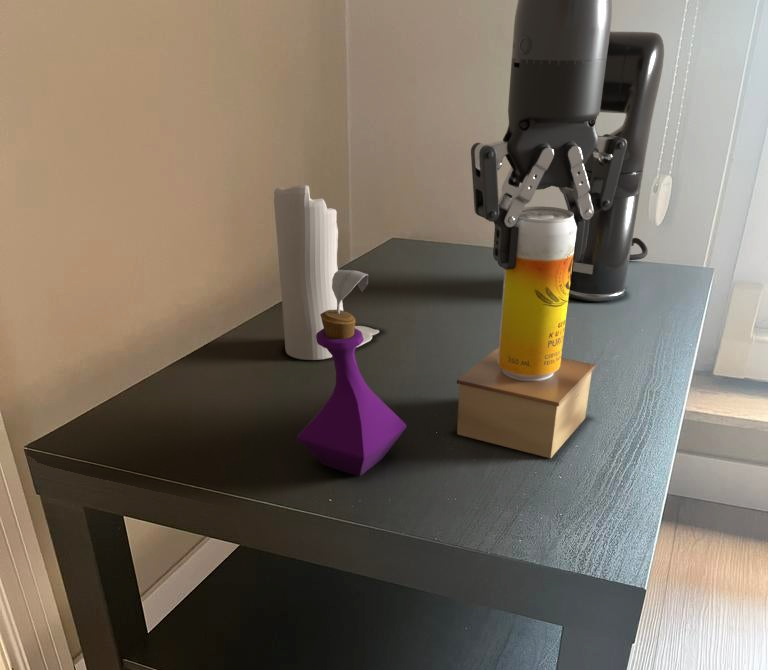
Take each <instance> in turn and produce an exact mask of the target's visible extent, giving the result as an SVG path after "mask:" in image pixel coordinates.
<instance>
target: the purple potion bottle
mask: <svg viewBox="0 0 768 670" xmlns="http://www.w3.org/2000/svg"><path fill="white" fill-rule="evenodd" d="M368 284H369V274H368V273H366V272H365V273H364V272H362V271H358V270H352V269H351V270H349V269H338V271H337V272H336V273H335V274H334V276H333V279H332V289H333V292H334V295H335V297H336V300H337V310H327V311H325V312H323V313H322V314H320V315H321V319H322V323H323V327H324V328H323V329H322V330H320V331H319V332H318V333H317V335H316V339H317V343H318V344H319V345H320V346H322V347H324V348H327V350H328V351H329V352H330V353H331V355H332V357H331V358H332V359H333V362H334V369H335V385H334V389H333V391H332V392H331V395H329V397H328V399H327V400H326V402H325V403H324V404H323V406H322V408H320V410H319V411H318V412H317V413H316V415H314V417H313V418H312V419H311V420H310V421H309V423H308V424H307V425H306V426H304V428H303V429H302V430H301V431H300V433H299V434H298V435H297V437H296V438H297V440H298V441H299V442H300V443H301V445H303V446H304V447H305V448H306V449H307V450H308V451H309V452H310V453H311V454H312V455H313V456H314V457H315V458H316V459H317V460H318V461H319V462H320V463H321V464H322V465H323V466H325V467H328V468H332V469H334V470H337V471H340V472H344V473H347V474H350V475H354V476H357V477H361V476H362V475H364V474H365V473H366V472H367V471H369V470H370V469H371V468H373V467H374V466H375V465H376V464H378V463H379V462H380V461H381V460H383V459H384V458H385V456H386V455H387V454H388V453H389V451H390V449H392V447H393V445H394V444H395V443H396V441H398V440H399V438H400V436H401V435H402V434H403V432H405V430H406V428H407V423H405V421H403V420H402V419H401V418H400V417H399V416H398V415H397V414H396V413H395V412H394V411H393V410H392V409H391V408H390V407H388V405H386V404H385V402H383V401H382V399H381V398H380V397H379V396H378V395H377V394H376V393H375V392H374V391H373V390H372V389H371V388H370V387H369V385H368V384H367V382H366V381H365V379H364V378H363V376H362V373H361V372H360V369H359V366H358V363H357V360H356V355H355V352H356V349H357V348H358V347H357V346H359V345H360V344H361V343H362V342H363V340H364V339H363V335H362V332H361V331H360V330H358V329H356V328H355V326H356V319H355V317H354V315H352V314H351V313H349V312H348V311H344V310H343V311H342V310H340V302H341V300H342V301H343V300H344V299H345V298H346V297H347V296H348V295H349V294H350V293H352V291H353V290H354V288H355V287H356V286H358V289H359V290H360V291H361V292H364V291H365V289H366V287H367V286H368ZM359 347H360V346H359Z"/></svg>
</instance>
